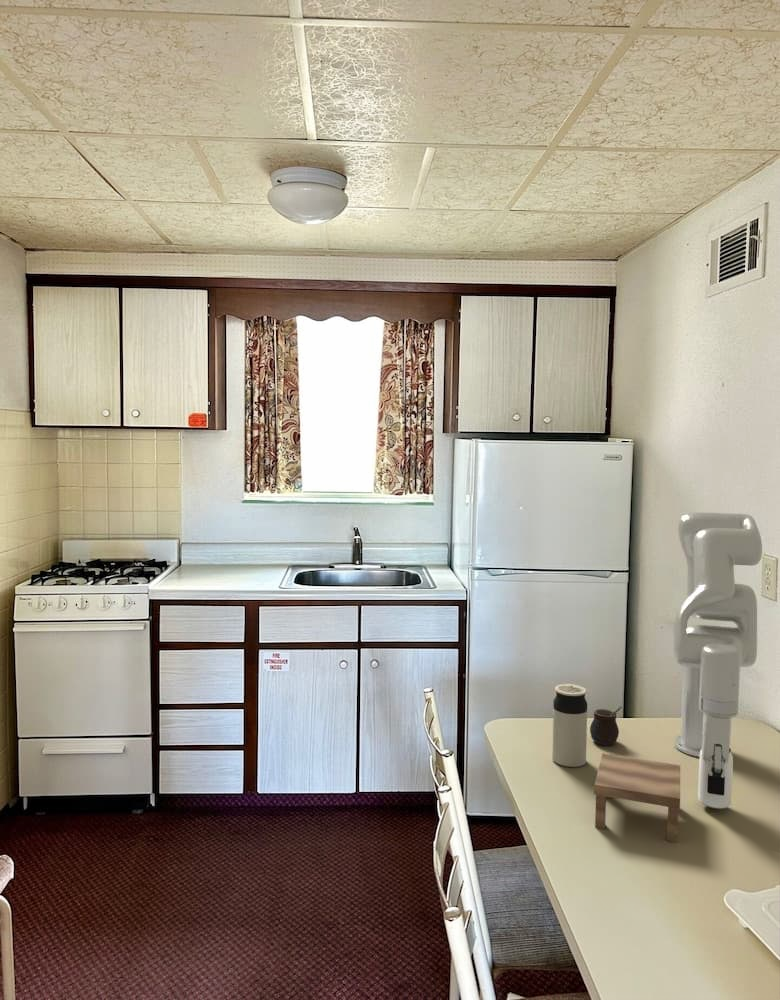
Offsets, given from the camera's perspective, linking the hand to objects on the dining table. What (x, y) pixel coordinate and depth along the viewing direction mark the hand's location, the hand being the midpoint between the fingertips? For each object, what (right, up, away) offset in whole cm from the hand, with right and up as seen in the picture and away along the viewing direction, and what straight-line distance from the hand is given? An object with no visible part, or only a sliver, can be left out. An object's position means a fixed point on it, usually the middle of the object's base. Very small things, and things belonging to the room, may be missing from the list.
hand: (714, 785), depth 156 cm
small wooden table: (-18, -5, -3) cm, 19 cm away
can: (0, -4, 0) cm, 4 cm away
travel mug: (-25, -3, +23) cm, 35 cm away
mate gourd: (-13, -3, +35) cm, 37 cm away
